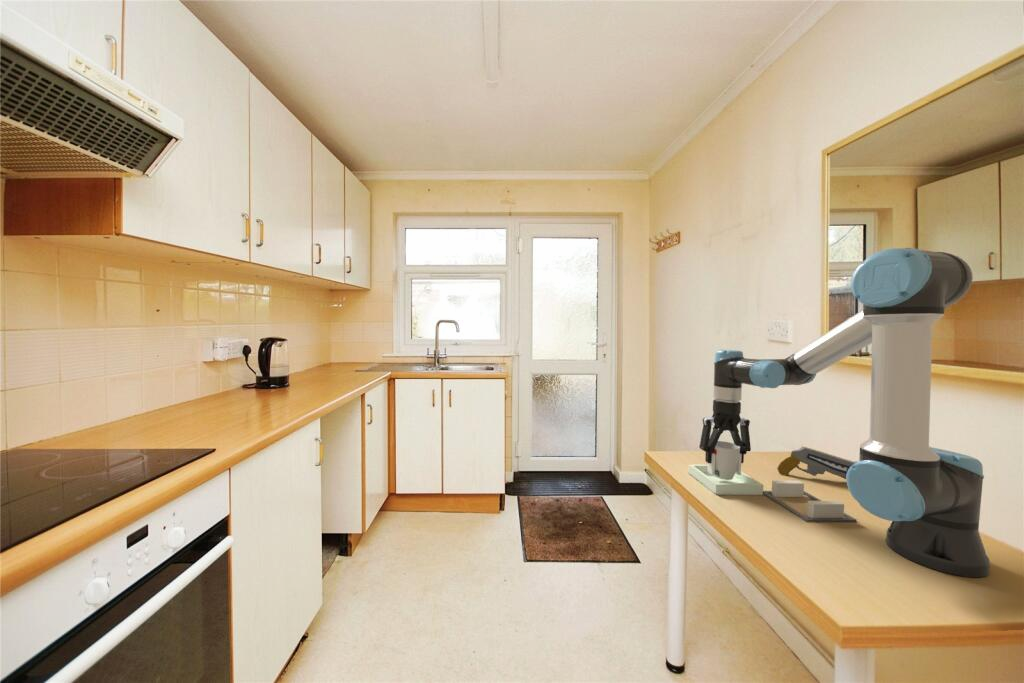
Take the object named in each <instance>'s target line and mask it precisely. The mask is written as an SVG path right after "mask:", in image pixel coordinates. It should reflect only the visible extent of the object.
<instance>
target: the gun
mask: <svg viewBox="0 0 1024 683" xmlns="http://www.w3.org/2000/svg"><path fill="white" fill-rule="evenodd" d="M856 462H858V461H852V460H849V459H846V458H842V457H841V456H836V455H833V454H830V453H827V452H823V451H820V450H817V449H814V448H809V447H806V446H803V445H802V446H801V447H800V448H798V449H795V450H792V451H791V452H790V456H788V457H786V458H785V459H783V460H781V462H780V463H779V464H778V466H777V468H776V469H777V472H778V473H779V474H780V475H781V476H782V475H783V476H786V477H787V476H789V474H790V473H791V471H793V470H794V469H797V470H800V471H802V472H804V473H806V474H809V475H811V476H813V477H815V476H816V475H825V472H827V473H830V474H832V475H834V476H838V477H839V478H843V479H844V480H846V475H847V471H848V469H849V468H850V467H851V466H852V465H853V464H855V463H856ZM800 463H802V464H805V465H806V468H801V467H800V466H799V465H800Z"/></svg>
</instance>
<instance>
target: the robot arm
mask: <svg viewBox="0 0 1024 683" xmlns="http://www.w3.org/2000/svg"><path fill="white" fill-rule="evenodd" d="M973 278H974V277H973V272H972V269H971V267H970V265H969V264H968V263H967V262H966V261H965V260H963V259H962V258H961V257H959V256H957V255H955V254H952V253H949V252H943V251H930V250H924V249H919V248H914V247H902V248H901V247H900V248H897V247H895V248H888V249H883V250H880V251H877V252H874V253H873V254H872V255H870V256H868V257H867V258H865V259H864V260H863V261H862V262H861V263H860V264H859V265H858V266H857V267H856V269H855V270H854V272H853V273H852V276H851V280H850V289H851V293H852V295H853V296H854V298H856V299H857V300H858V302H859V303H861V304H862V305H863V306H862V310H860V311H859V312H857V313H855V314H854V315H852V316H851V317H849V318H847V319H846V320H845V321H843V322H841V323H840V324H838V325H836V326H835V327H833V328H832V329H830V330H829V331H827V332H826V333H824V334H822V335H821V336H819V337H818V338H816V339H814V340H813V341H811V342H809V343H808V344H806V345H805V346H802V348H800V349H798V350H797V351H796V352H794V353H793V354H791V355H789V356H788V357H785V358H775V359H774V358H773V359H772V358H771V359H767V358H766V359H764V358H763V359H762V358H761V359H757V358H745V357H744V353H743V351H741V350H735V349H718V350H717V351H716V352H715V355H714V356H715V357H714V362H713V365H714V367H713V368H714V372H713V373H714V374H713V375H714V376H713V377H714V378H713V398H714V399H713V401H712V412H713V414H712V416H711V417H707V418H706V417H703V418H702V424H703V426H702V432H701V435H700V442H699V447H698V448H699V449H700V450H701V451H703V452H705V462H706V463H707V465H708V467H707V472H709V473H710V474H712V475H714V474H715V454H714V453H713V451H714V448H715V446H716V444H717V442H718V441H719V439H720V437H721V436H722V434H723V433H724V432H725V431H729V433H730V436H731V439H732V441H733V443H734V444H735V445H736V446H740V453H739V461H738V465H737V469H736V472H735V473H736V474H738V475H741V472H742V464H744V460H745V458H744V457H745V455H746V454H747V452H751V450H752V449H751V447H752V446H751V439H750V428H749V427H750V423H751V421H750V420H749V419H747V418H745V417H742V418H741V416H740V414H741V412H742V411H741V409H742V403H741V400H742V386H743V385H750V386H753V387H754V386H755V387H759V388H761V389H762V388H763V389H764V388H766V389H777V388H779V386H792V385H793V386H802V385H806V384H809V383H811V382H813V381H814V379H815V377H816V376H817V374H818V373H820V372H822V371H824V370H825V369H827V368H829V367H831V366H833V365H835V364H837V363H838V362H840V361H842V360H844V359H846V358H847V357H850V356H851V355H853V354H855V353H856V352H858V351H860V350H862V349H864V348H866V347H867V346H869V345H871V367H870V368H871V371H870V372H871V374H870V375H871V376H870V379H871V380H870V408H869V409H870V413H869V414H870V415H869V416H870V417H869V438H868V439H867V440H865V441H863V442H862V443H860V444H859V460H858V461H857V462H856V461H855V462H856V463H855V464H853V465H852V466H851V467H850V468H849V469H848V471H847V475H846V479H845V480H846V486H847V488H848V490H849V493H850V495H851V496H852V498H853V499H854V500H855V501H857V503H858V504H859V506H860V507H861V508H863V509H864V510H865V511H866V512H868V513H870V514H871V515H873V516H876V517H878V518H879V519H883V520H886V521H891V523H890V526H889V527H888V528H887V530H886V532H885V534H886V535H885V543H886V545H887V546H888V547H889V548H890V549H891V550H892V551H894V552H895V553H896V554H898V555H900V556H902V557H903V558H906V559H908V560H909V561H913V562H914V563H916V564H919V565H922V566H924V567H927V568H930V569H933V570H936V571H939V572H941V573H946V574H950V575H951V574H952V575H955V576H960V577H967V578H984V577H988V575H989V574H990V570H991V569H990V566H991V561H990V558H989V557H988V555H987V553H986V549H985V547H984V543H983V541H982V538H981V534H980V531H979V529H980V528H979V527H980V526H979V525H980V518H981V517H980V516H981V507H982V506H981V504H982V494H983V492H982V491H983V480H984V479H985V475H984V473H983V472H984V471H983V468H984V467H983V464H982V462H981V461H980V460H979V459H977V458H976V457H973V456H970V455H967V454H963V453H958V452H955V451H951V450H946V449H941V448H936V447H932V446H931V447H930V422H931V421H930V418H931V417H930V415H931V414H930V413H931V388H932V387H931V385H932V384H931V383H932V381H931V379H932V352H933V351H932V350H933V348H932V347H933V346H932V345H933V325H934V324H935V323H936V322H938V321H939V320H940V319H942V318H943V317H944V316H945V310H946V309H947V308H949V307H951V306H952V305H954V304H956V303H958V301H960V300H962V298H964V297H965V296H966V294H968V292H969V290H970V289H971V286H972V284H973V280H974V279H973ZM738 425H739V429H740V432H739V429H738ZM712 426H713V427H712Z"/></svg>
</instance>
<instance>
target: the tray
mask: <svg viewBox="0 0 1024 683" xmlns="http://www.w3.org/2000/svg"><path fill="white" fill-rule="evenodd" d="M707 467H708V464H688V474H689V475H690V476H691V477H692V478H694V479H695V480H696V481H697V482H698V483H700V484H701V485H702V486H704V487H705V488H706V489H708V491H710V492H711V493H713V494H714V495H715V496H719V495H720V496H723V495H724V496H726V495H727V496H745V495H746V496H762V495H764V494H763V491H764V484H763V483H762V482H759V481H758V480H756V479H755V478H753V477H751V476H750V475H748V474H746V473H745V472H743V471H741V475H738V474H736V473H735V475H734V477H733V479H731V480H724V479H720V478H717V477H716V476H715V475H712V474H710V473H709V472H707Z"/></svg>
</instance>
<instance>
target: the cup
mask: <svg viewBox="0 0 1024 683" xmlns="http://www.w3.org/2000/svg"><path fill="white" fill-rule="evenodd" d="M713 453H714V454H715V474H714V475H715V476H716V477H717V478H720V479H724V480H731V479H733V477H734V475H735V472H736V469H737V465H738V461H739V453H740V446H736V445H735V444H734V442H730V441H722V440H718V442H717V444H716V446H715V448H714V451H713Z"/></svg>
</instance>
